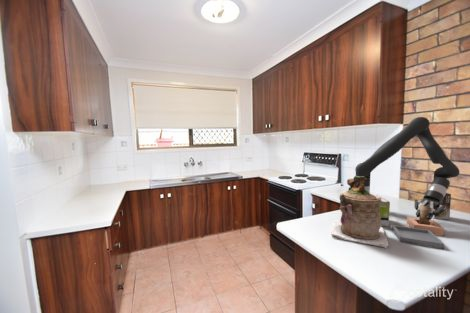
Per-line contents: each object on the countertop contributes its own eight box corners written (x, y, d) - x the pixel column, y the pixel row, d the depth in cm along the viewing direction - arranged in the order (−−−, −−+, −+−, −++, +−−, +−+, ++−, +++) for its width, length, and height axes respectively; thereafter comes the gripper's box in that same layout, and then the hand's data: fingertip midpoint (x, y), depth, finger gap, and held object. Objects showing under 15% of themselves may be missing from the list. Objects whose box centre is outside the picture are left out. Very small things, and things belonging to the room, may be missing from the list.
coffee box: (440, 215, 135) (442, 191, 134) (450, 219, 128) (451, 193, 127) (425, 215, 136) (427, 191, 135) (434, 218, 129) (435, 193, 128)
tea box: (389, 226, 119) (390, 201, 117) (370, 225, 121) (371, 200, 119) (377, 217, 133) (378, 194, 132) (360, 216, 135) (360, 194, 134)
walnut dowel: (420, 228, 113) (421, 207, 112) (417, 225, 117) (419, 205, 116) (429, 229, 112) (431, 208, 111) (426, 227, 115) (428, 206, 114)
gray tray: (400, 242, 101) (400, 237, 100) (391, 229, 115) (392, 224, 115) (443, 249, 94) (444, 243, 93) (429, 234, 108) (429, 230, 108)
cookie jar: (383, 230, 114) (386, 173, 112) (389, 250, 93) (393, 181, 91) (334, 221, 127) (335, 170, 124) (330, 237, 106) (331, 176, 103)
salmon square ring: (413, 231, 112) (414, 224, 111) (406, 223, 122) (407, 217, 122) (443, 235, 106) (444, 228, 106) (433, 227, 117) (433, 220, 117)
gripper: (417, 187, 122) (405, 209, 118) (450, 192, 109) (437, 218, 105) (422, 194, 125) (409, 217, 121) (454, 201, 112) (441, 226, 108)
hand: (422, 217), depth 113 cm, fingers closed on walnut dowel, 4 cm apart
